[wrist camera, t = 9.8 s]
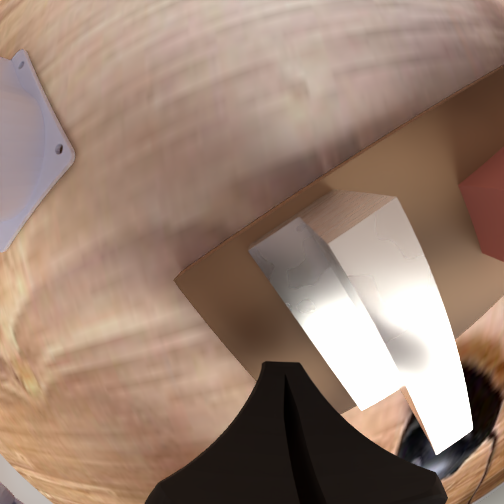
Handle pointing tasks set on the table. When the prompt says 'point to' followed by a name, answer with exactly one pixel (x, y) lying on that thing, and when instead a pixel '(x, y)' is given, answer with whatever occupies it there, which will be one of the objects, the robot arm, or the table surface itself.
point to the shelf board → (375, 182)
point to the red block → (487, 204)
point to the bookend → (370, 306)
